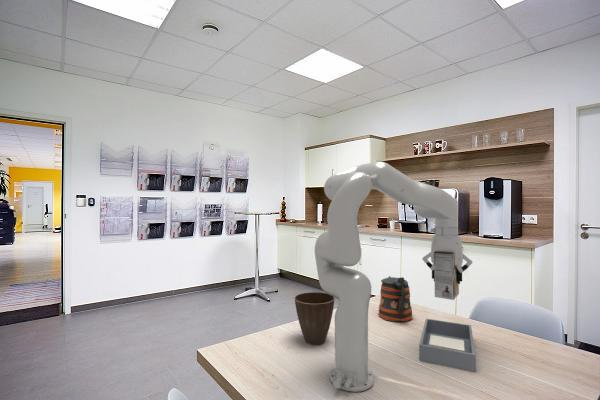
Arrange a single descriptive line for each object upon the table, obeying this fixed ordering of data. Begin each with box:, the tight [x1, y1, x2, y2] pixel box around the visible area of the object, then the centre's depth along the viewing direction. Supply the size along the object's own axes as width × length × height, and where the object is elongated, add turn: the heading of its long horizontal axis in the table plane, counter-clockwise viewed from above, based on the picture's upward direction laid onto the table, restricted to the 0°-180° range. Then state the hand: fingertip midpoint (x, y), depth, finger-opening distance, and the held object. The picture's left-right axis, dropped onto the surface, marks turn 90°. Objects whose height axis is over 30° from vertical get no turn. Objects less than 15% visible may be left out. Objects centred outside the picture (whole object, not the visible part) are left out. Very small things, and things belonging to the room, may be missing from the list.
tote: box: [418, 318, 477, 373], centre depth 107 cm, size 26×16×6 cm, turn 154°
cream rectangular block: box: [429, 335, 465, 352], centre depth 101 cm, size 8×10×5 cm
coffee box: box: [434, 251, 460, 301], centre depth 111 cm, size 9×6×16 cm
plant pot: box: [294, 291, 336, 346], centre depth 116 cm, size 15×15×16 cm
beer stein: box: [378, 275, 413, 323], centre depth 138 cm, size 19×15×20 cm
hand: (446, 281), depth 111 cm, fingers closed on coffee box, 7 cm apart
